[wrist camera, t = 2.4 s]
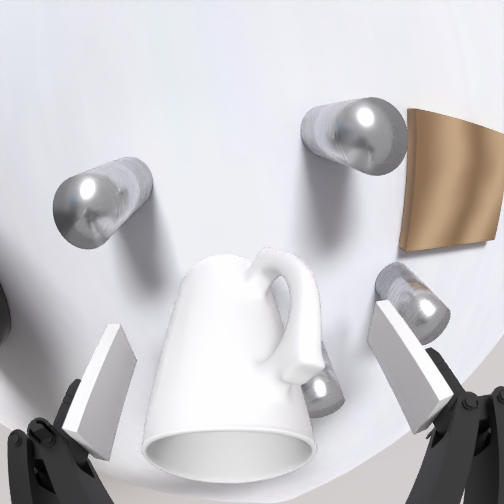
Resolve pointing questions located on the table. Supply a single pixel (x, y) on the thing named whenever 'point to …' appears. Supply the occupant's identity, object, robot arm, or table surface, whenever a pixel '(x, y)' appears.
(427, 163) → the trivet
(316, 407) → the cylinder
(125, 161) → the cylinder
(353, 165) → the cylinder
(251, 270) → the mug
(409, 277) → the cylinder
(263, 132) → the table surface
